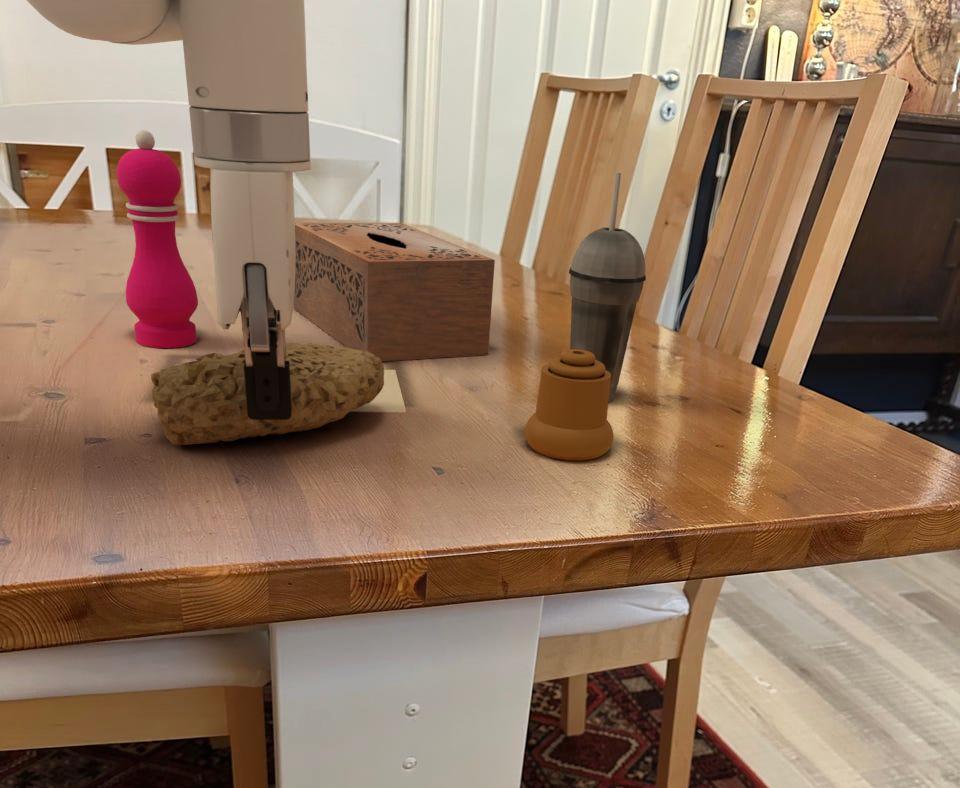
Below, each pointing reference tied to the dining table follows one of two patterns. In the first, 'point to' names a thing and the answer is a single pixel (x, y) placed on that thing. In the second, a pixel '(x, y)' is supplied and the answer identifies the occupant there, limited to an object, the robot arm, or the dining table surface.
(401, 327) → the tissue box cover
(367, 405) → the board
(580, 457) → the ornamental finial
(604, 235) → the beverage cup
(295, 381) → the sponge
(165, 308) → the pepper mill
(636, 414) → the dining table surface
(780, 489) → the dining table surface
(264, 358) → the robot arm
